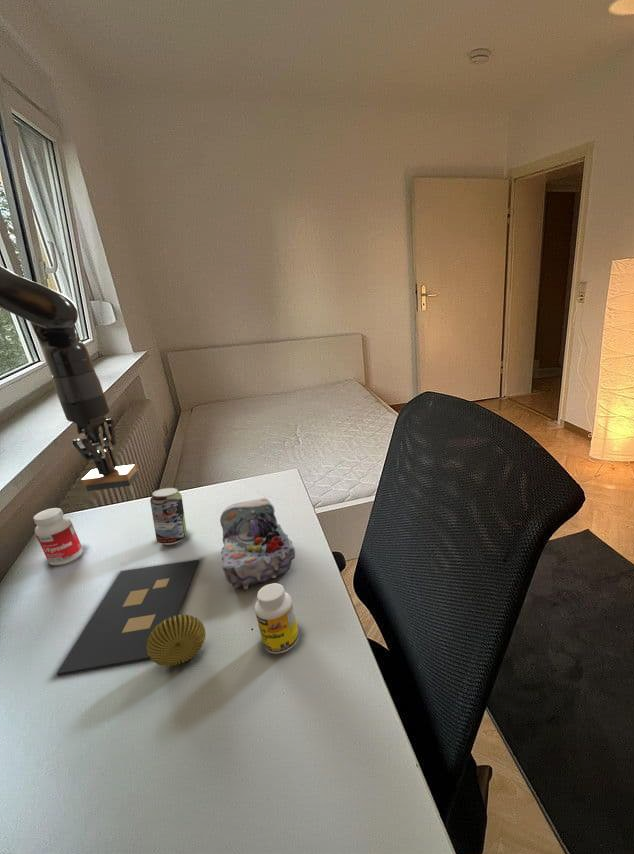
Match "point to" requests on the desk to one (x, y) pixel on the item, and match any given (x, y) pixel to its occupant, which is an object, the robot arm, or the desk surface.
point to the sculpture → (175, 640)
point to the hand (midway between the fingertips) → (108, 470)
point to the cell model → (253, 544)
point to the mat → (130, 616)
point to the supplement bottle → (276, 618)
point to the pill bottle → (57, 536)
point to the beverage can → (168, 516)
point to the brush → (110, 476)
